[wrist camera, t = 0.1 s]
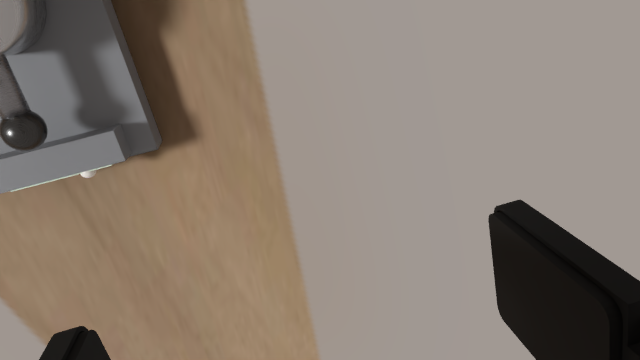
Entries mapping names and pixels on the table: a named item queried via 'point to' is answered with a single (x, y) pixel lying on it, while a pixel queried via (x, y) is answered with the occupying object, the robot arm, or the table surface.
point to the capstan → (3, 89)
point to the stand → (79, 97)
